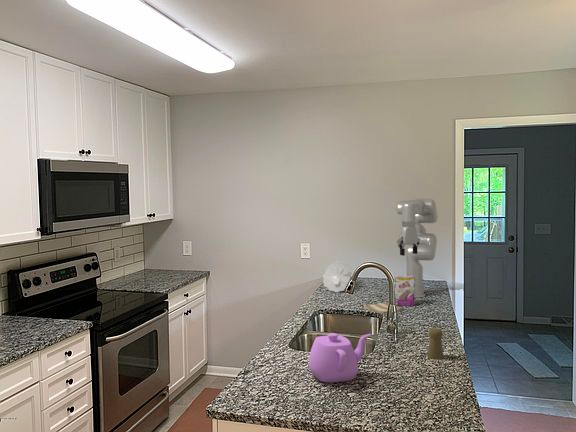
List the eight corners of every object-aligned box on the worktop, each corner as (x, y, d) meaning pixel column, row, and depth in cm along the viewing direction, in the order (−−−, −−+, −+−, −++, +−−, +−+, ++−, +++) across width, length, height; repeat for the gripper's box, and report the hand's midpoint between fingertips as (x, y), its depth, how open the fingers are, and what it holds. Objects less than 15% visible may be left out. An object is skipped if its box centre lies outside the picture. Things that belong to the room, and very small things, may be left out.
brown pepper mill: (443, 355, 190) (443, 327, 190) (443, 360, 185) (443, 332, 184) (427, 353, 192) (428, 326, 192) (427, 358, 187) (427, 330, 186)
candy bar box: (394, 305, 270) (394, 276, 269) (393, 303, 275) (393, 275, 274) (414, 306, 269) (414, 277, 268) (413, 304, 274) (413, 275, 273)
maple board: (382, 304, 273) (382, 302, 273) (403, 310, 260) (403, 307, 260) (363, 308, 264) (363, 306, 264) (383, 314, 252) (383, 312, 252)
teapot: (320, 392, 156) (320, 347, 156) (304, 369, 177) (303, 328, 176) (385, 385, 162) (385, 341, 161) (362, 363, 182) (362, 324, 181)
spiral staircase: (329, 299, 304) (333, 289, 328) (354, 288, 300) (356, 278, 324) (316, 273, 304) (321, 265, 328) (341, 262, 300) (344, 254, 324)
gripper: (415, 223, 280) (415, 252, 281) (392, 225, 271) (392, 255, 273) (424, 224, 273) (424, 253, 275) (401, 226, 265) (401, 256, 266)
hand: (408, 254), depth 274 cm, fingers open, 9 cm apart
